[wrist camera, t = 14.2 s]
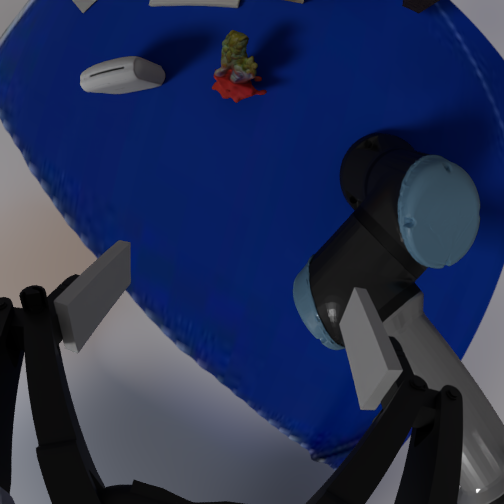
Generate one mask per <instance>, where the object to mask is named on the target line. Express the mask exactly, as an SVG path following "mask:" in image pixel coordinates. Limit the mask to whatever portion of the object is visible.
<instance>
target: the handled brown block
mask: <svg viewBox="0 0 504 504" xmlns="http://www.w3.org/2000/svg"><path fill="white" fill-rule="evenodd" d="M438 1H440V0H403V5H402V6H404V7H406V8H408V9H411V10H413V11H415V12H417V13H420V12H422V11H423V10H425V9H427V8H428V7H430V6H431V5H433V4H435V3H436V2H438Z"/></svg>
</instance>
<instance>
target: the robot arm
mask: <svg viewBox="0 0 504 504" xmlns="http://www.w3.org/2000/svg"><path fill="white" fill-rule="evenodd" d="M340 184H341V189H342V192H343V195H344V197H345V199H346V200H347V202H348V203H349V204H350V206H351V207H352V208H353V209H354V210H355V211H354V212H353V213H352V214H351V215H350V217H349V218H348V219H347V220H346V221H345V222H344V223H343V224H342V225H341V227H340V228H339V229H338V230H337V231H336V232H335V233H334V234H333V235H332V236H331V237H330V239H329V240H328V241H327V242H326V243H325V244H324V245H323V246H322V247H321V248H320V249H319V250H318V251H317V253H316V254H314V255H312V256H311V257H310V258H309V260H308V263H307V264H306V266H305V267H304V268H303V269H302V270H301V271H300V273H299V274H298V275H297V277H296V278H295V281H294V288H293V296H294V301H295V305H296V308H297V310H298V312H299V314H300V316H301V318H302V320H303V322H304V323H305V325H306V327H307V328H308V329H309V331H310V332H311V333H312V334H313V335H314V336H315V338H317V339H319V338H320V340H321V342H322V344H323V345H325V346H326V347H328V348H330V349H334V350H340V349H344V348H346V351H347V355H348V359H349V363H350V367H351V371H352V375H353V379H354V383H355V387H356V392H357V396H358V400H359V405H360V409H361V410H375V409H376V408H377V406H378V405H379V404H380V402H381V404H382V408H383V409H382V410H381V411H380V413H379V414H378V415H377V416H376V418H375V419H374V420H373V421H372V422H373V423H372V424H371V426H370V427H369V428H368V430H367V431H366V433H365V434H364V435H363V437H362V438H361V439H360V441H359V442H358V443H357V445H356V446H355V447H354V449H353V450H352V451H351V453H350V454H349V455H348V456H347V458H346V459H345V460H344V461H343V462H342V464H341V465H340V466H339V467H338V469H337V470H336V471H335V472H334V473H333V475H332V476H331V477H330V478H329V479H328V480H327V481H326V482H325V483H324V485H323V486H322V487H321V488H320V489H319V490H318V491H317V492H316V493H315V494H314V495H313V496H312V497H311V499H310V500H309V501H308V502H307V503H306V504H365V503H366V502H367V500H368V499H369V497H370V496H371V494H372V493H373V492H374V490H375V489H376V487H377V485H378V484H379V482H380V481H381V479H382V477H383V476H384V475H385V473H386V472H387V470H388V468H389V467H390V465H391V463H392V462H393V460H394V458H395V457H396V455H397V453H398V451H399V449H400V448H401V446H402V444H403V442H404V440H405V438H406V437H407V435H408V433H409V431H410V429H411V427H413V428H412V434H411V439H410V444H409V449H408V454H407V458H406V462H405V467H404V471H403V475H402V478H401V482H400V486H399V489H398V493H397V496H396V500H395V503H394V504H504V425H503V423H502V421H501V420H500V418H499V417H498V415H497V413H496V412H495V410H494V409H493V407H492V406H491V404H490V403H489V401H488V399H487V398H486V397H485V395H484V393H483V392H482V390H481V389H480V388H479V386H478V385H477V383H476V382H475V380H474V379H473V377H472V376H471V375H470V373H469V372H468V370H467V369H466V368H465V366H464V365H463V364H462V362H461V361H460V359H459V358H458V357H457V355H456V354H455V353H454V351H453V350H452V349H451V347H450V346H449V345H448V343H447V342H446V341H445V339H444V338H443V337H442V336H441V334H440V333H439V332H438V330H437V329H436V328H435V327H434V325H433V324H432V323H431V322H430V320H429V319H428V318H427V317H426V315H425V314H424V312H423V299H424V294H423V292H422V291H421V290H420V289H419V287H418V286H417V285H416V284H415V281H416V280H417V279H418V277H419V276H420V275H421V274H422V273H423V272H424V271H425V270H426V269H427V268H428V267H430V268H443V267H444V265H448V266H450V265H452V264H454V263H456V262H457V261H459V260H460V259H461V258H462V257H463V256H464V255H465V254H466V253H467V251H468V250H469V249H470V247H471V245H472V244H473V242H474V239H475V237H476V235H477V232H478V228H479V223H480V216H479V210H480V200H479V195H478V192H477V189H476V186H475V184H474V182H473V180H472V179H471V177H470V176H469V175H468V174H467V172H466V171H465V170H464V169H462V168H461V167H460V166H458V165H456V164H454V163H452V162H450V161H448V160H447V159H444V158H443V157H441V156H437V155H429V154H425V153H421V152H417V151H415V150H414V149H413V147H412V146H411V145H410V144H408V143H407V142H406V141H404V140H403V139H401V138H399V137H397V136H394V135H390V134H382V133H377V134H371V135H367V136H365V137H363V138H361V139H359V140H358V141H356V142H355V143H354V144H353V145H352V146H351V147H350V148H349V150H348V151H347V153H346V154H345V156H344V158H343V161H342V164H341V168H340ZM130 283H131V276H130V242H125V241H121V240H119V241H118V242H116V243H115V244H114V245H113V246H112V247H111V248H109V249H108V250H107V251H106V252H105V253H104V254H103V255H102V256H100V257H99V258H98V259H97V260H96V261H95V262H94V263H93V264H92V265H91V266H89V268H87V269H86V270H85V271H84V272H83V273H82V274H81V275H77V274H75V275H73V276H70V277H69V278H67V279H66V280H65V281H64V282H63V283H62V284H60V285H59V286H58V287H57V289H55V290H54V291H53V292H52V293H51V294H50V295H49V296H48V297H47V296H46V291H45V289H44V288H43V287H41V286H37V285H34V286H29V287H26V288H25V289H23V290H22V292H21V293H20V295H19V296H20V300H21V304H22V307H23V308H16V307H13V304H12V301H11V300H10V299H9V298H6V297H2V298H0V504H15V503H14V501H13V498H12V497H11V496H10V486H11V456H12V434H13V421H14V412H15V403H16V396H17V389H18V383H19V377H20V371H21V366H22V361H23V356H24V352H25V363H26V372H27V382H28V390H29V397H30V403H31V410H32V415H33V420H34V425H35V430H36V435H37V439H38V444H39V446H38V447H37V448H36V453H37V458H38V461H39V465H40V469H41V472H42V475H43V479H44V482H45V485H46V488H47V491H48V494H49V496H50V499H51V502H52V504H243V503H235V502H227V501H224V502H205V503H204V502H202V503H201V502H200V503H195V502H191V501H188V500H186V499H184V498H182V497H180V496H177V495H175V494H173V493H171V492H169V491H167V490H165V489H163V488H160V487H156V486H153V485H149V484H146V483H143V482H140V481H136V480H134V481H133V484H132V485H114V486H109V487H106V488H105V486H104V484H103V482H102V480H101V478H100V476H99V474H98V472H97V470H96V468H95V466H94V463H93V461H92V458H91V456H90V453H89V451H88V448H87V445H86V442H85V440H84V437H83V434H82V431H81V428H80V425H79V422H78V419H77V416H76V412H75V409H74V406H73V402H72V399H71V395H70V391H69V388H68V383H67V379H66V375H65V371H64V366H63V362H62V357H61V351H60V347H59V343H60V342H61V341H62V340H63V342H64V346H65V348H66V349H68V350H71V351H73V352H76V353H79V351H80V350H81V349H82V347H83V346H84V344H85V343H86V341H87V340H88V339H89V337H90V336H91V335H92V333H93V332H94V330H95V329H96V328H97V326H98V325H99V324H100V322H101V321H102V319H103V318H104V317H105V316H106V314H107V313H108V312H109V310H110V309H111V308H112V306H113V305H114V304H115V302H116V301H117V300H118V299H119V297H120V296H121V295H122V293H123V292H124V291H125V290H126V288H127V287H128V286H129V285H130ZM459 485H460V486H461V487H460V489H459Z"/></svg>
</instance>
